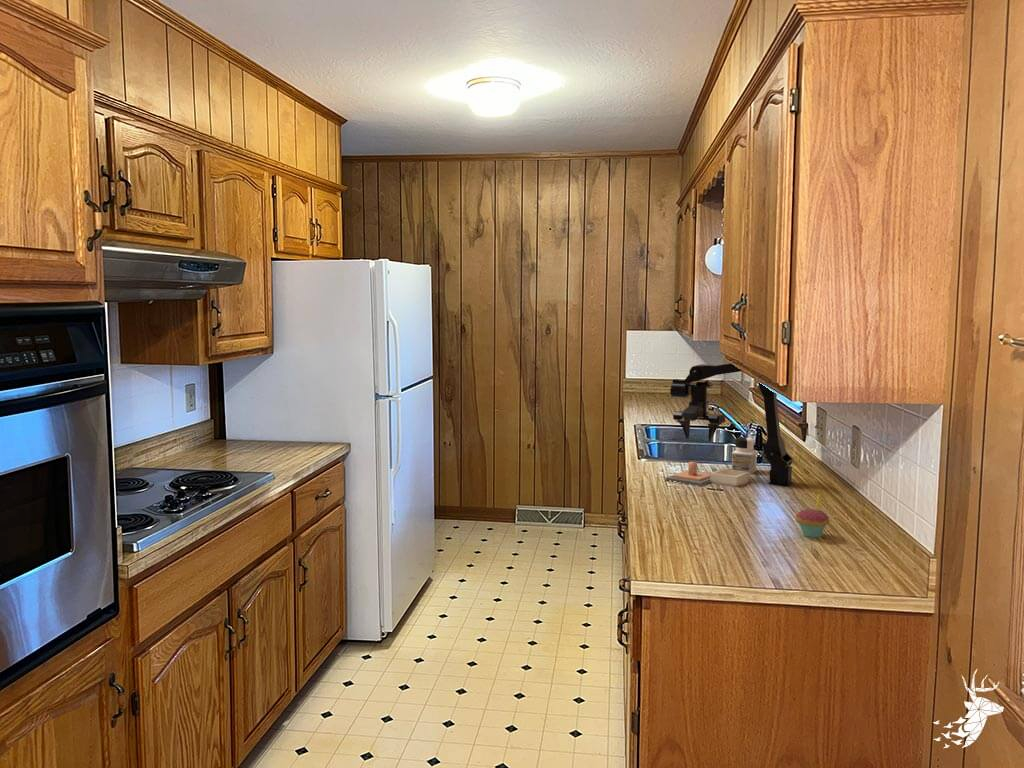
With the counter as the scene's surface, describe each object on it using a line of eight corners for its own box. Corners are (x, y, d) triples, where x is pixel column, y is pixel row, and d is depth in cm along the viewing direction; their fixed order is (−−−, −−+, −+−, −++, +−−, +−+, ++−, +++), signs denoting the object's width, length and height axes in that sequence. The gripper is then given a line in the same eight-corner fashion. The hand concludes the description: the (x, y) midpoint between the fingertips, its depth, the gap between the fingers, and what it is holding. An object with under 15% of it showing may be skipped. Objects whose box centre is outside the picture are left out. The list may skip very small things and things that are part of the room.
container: (731, 472, 287) (732, 438, 286) (735, 468, 294) (736, 435, 293) (752, 474, 284) (753, 439, 282) (756, 470, 291) (757, 436, 289)
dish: (749, 481, 272) (749, 472, 272) (736, 486, 265) (736, 477, 264) (723, 477, 279) (723, 468, 278) (710, 482, 271) (710, 473, 271)
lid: (713, 476, 276) (713, 461, 276) (698, 481, 268) (698, 466, 268) (686, 472, 283) (686, 458, 283) (672, 477, 275) (672, 463, 275)
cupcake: (817, 529, 213) (818, 487, 212) (835, 538, 205) (836, 494, 204) (789, 531, 212) (790, 489, 211) (806, 540, 203) (807, 496, 202)
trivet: (719, 479, 276) (719, 476, 276) (700, 486, 266) (700, 483, 266) (685, 474, 286) (685, 470, 286) (665, 480, 275) (665, 477, 275)
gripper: (665, 398, 282) (665, 440, 284) (711, 402, 270) (711, 445, 272) (680, 396, 291) (680, 436, 292) (726, 399, 278) (725, 441, 280)
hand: (698, 440), depth 284 cm, fingers open, 9 cm apart
